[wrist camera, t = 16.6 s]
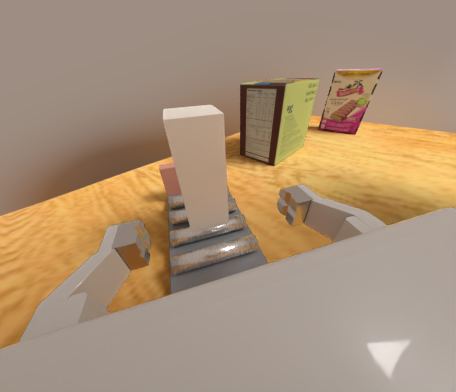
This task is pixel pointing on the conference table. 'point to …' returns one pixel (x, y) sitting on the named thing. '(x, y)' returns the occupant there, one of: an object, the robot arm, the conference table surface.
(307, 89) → the protein box
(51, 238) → the conference table surface
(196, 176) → the wooden block
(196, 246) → the roller track
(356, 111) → the candy bar box
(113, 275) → the robot arm
